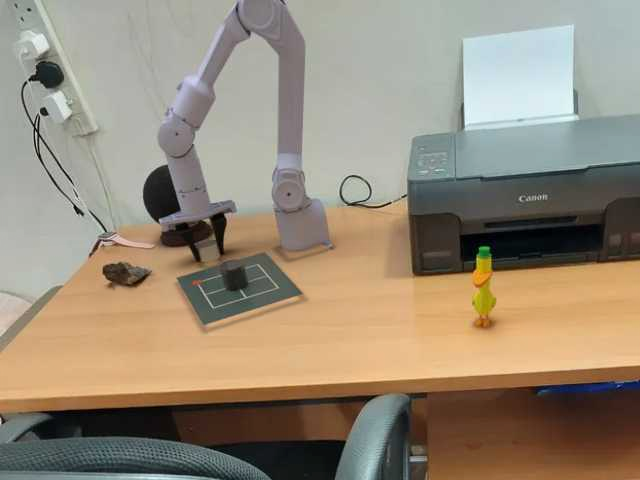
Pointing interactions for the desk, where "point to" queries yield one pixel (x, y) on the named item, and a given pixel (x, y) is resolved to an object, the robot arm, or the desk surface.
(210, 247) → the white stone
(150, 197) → the black ball on stand
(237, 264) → the dark grey cylinder
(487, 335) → the desk surface
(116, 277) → the rock sample
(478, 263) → the toy figure
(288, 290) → the game board
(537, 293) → the desk surface
